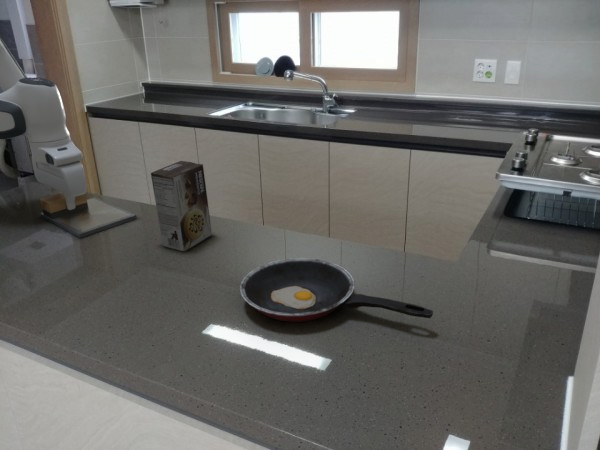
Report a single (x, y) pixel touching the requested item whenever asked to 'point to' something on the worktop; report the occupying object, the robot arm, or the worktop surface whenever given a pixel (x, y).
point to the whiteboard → (92, 218)
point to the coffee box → (181, 204)
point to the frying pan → (310, 291)
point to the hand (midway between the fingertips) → (64, 205)
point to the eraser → (61, 205)
